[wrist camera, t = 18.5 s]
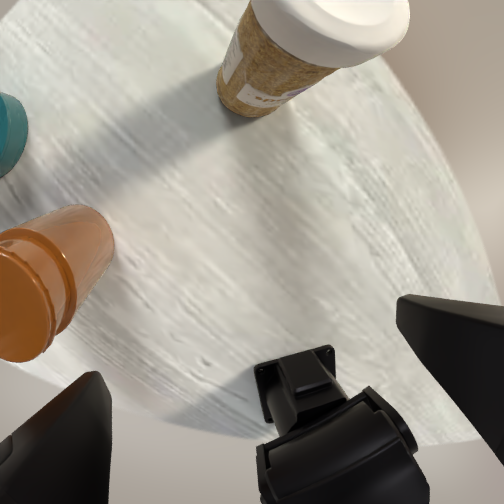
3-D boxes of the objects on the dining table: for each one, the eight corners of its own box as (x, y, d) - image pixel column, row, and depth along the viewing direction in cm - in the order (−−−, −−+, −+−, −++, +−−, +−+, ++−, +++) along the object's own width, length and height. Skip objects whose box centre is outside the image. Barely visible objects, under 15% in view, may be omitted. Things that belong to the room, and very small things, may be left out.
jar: (123, 272, 20) (77, 363, 10) (57, 287, 19) (-16, 373, 9) (103, 195, 19) (28, 226, 9) (36, 215, 18) (-63, 258, 8)
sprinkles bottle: (253, 132, 20) (363, 85, 7) (199, 86, 18) (225, -34, 5) (299, 85, 19) (437, 9, 6) (248, 40, 18) (330, -89, 5)
